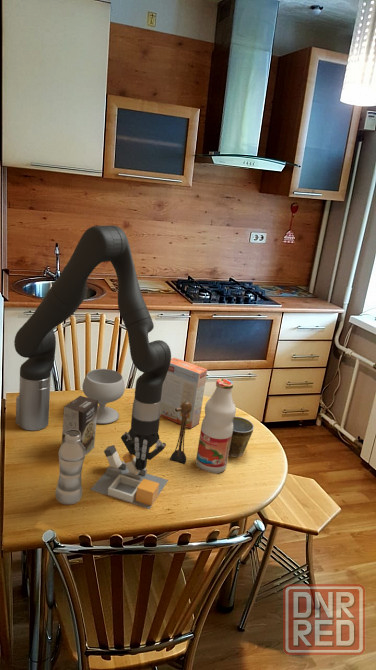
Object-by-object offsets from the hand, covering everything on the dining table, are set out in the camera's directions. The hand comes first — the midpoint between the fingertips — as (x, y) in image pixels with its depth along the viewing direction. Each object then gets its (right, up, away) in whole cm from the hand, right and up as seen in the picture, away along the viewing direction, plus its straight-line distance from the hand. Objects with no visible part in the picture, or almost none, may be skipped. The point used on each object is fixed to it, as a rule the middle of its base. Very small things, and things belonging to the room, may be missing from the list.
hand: (140, 468), depth 144 cm
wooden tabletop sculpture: (+10, -1, +14) cm, 17 cm away
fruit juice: (+20, -3, +14) cm, 24 cm away
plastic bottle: (-18, -6, -10) cm, 21 cm away
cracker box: (+10, +7, +38) cm, 40 cm away
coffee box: (-20, +2, +11) cm, 23 cm away
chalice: (-17, +9, +33) cm, 38 cm away
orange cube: (+2, -6, -7) cm, 9 cm away
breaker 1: (-7, 0, +2) cm, 7 cm away
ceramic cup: (+27, 0, +24) cm, 36 cm away
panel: (-3, -5, -2) cm, 6 cm away
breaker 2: (-1, -1, +1) cm, 2 cm away
